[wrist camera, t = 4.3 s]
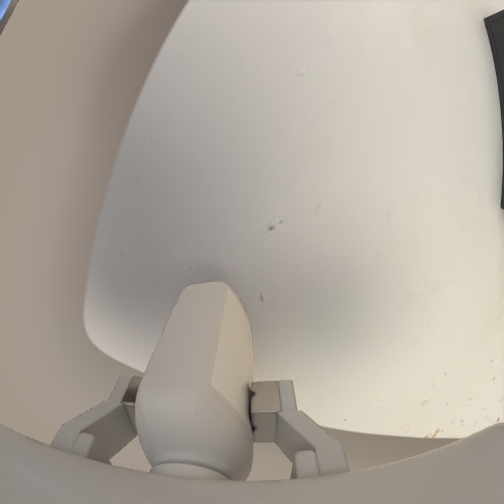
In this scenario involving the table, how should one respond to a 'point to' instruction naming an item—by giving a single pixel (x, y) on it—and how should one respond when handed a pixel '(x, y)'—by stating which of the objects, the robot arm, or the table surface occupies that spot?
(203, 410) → the eye dropper bottle
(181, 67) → the table surface
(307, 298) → the table surface
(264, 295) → the table surface
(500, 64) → the bin
